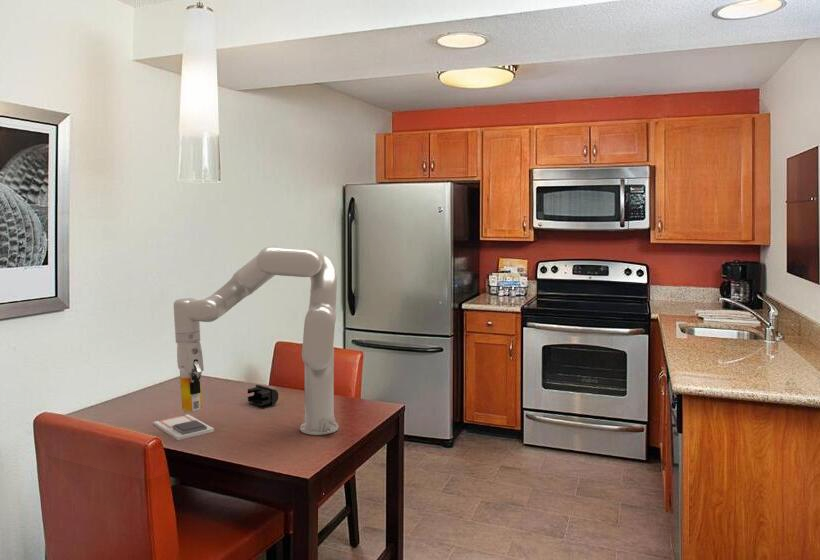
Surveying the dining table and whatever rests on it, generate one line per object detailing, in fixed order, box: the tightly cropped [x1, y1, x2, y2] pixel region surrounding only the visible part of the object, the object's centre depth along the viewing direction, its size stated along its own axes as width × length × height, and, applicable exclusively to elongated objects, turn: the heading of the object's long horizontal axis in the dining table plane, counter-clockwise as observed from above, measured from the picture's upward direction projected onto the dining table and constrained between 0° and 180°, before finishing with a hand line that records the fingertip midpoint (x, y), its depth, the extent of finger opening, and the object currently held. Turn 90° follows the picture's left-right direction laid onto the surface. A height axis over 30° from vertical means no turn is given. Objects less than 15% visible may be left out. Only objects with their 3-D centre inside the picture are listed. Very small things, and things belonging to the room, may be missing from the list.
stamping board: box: [153, 413, 215, 441], centre depth 203 cm, size 20×12×2 cm, turn 43°
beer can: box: [179, 367, 203, 414], centre depth 199 cm, size 6×6×15 cm
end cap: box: [247, 384, 279, 410], centre depth 230 cm, size 10×7×7 cm
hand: (190, 391), depth 199 cm, fingers closed on beer can, 6 cm apart
